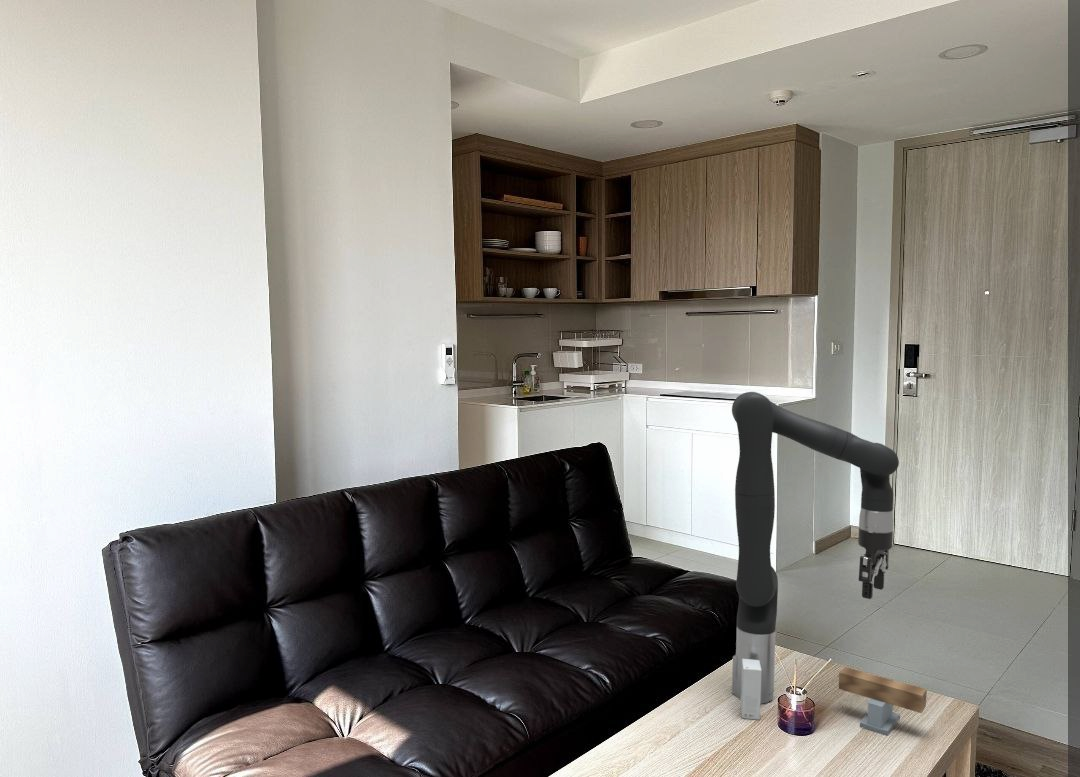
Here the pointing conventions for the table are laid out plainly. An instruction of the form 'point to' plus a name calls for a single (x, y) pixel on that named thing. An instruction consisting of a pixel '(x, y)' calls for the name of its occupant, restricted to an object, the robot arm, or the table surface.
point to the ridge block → (880, 717)
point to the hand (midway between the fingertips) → (872, 593)
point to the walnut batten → (883, 689)
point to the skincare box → (750, 689)
